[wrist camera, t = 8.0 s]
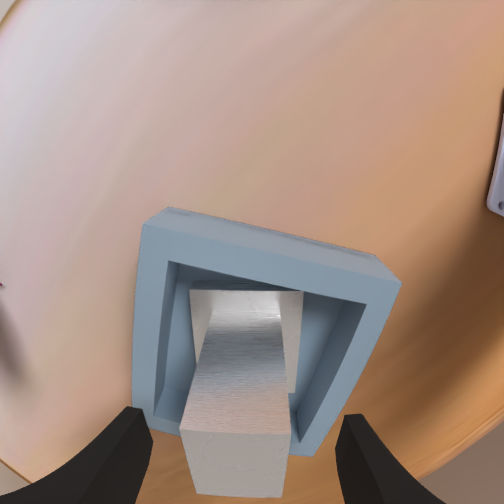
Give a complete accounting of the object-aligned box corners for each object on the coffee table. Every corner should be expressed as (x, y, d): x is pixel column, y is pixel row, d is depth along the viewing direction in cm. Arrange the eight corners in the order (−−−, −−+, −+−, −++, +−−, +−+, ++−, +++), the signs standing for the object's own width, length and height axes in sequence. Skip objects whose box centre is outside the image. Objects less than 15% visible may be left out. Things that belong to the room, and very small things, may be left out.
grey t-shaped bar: (301, 281, 15) (333, 407, 7) (293, 381, 17) (306, 506, 9) (193, 280, 15) (137, 399, 7) (202, 378, 17) (174, 501, 9)
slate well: (375, 255, 15) (402, 282, 12) (307, 416, 19) (312, 456, 15) (168, 206, 15) (142, 223, 11) (148, 384, 18) (132, 422, 15)
